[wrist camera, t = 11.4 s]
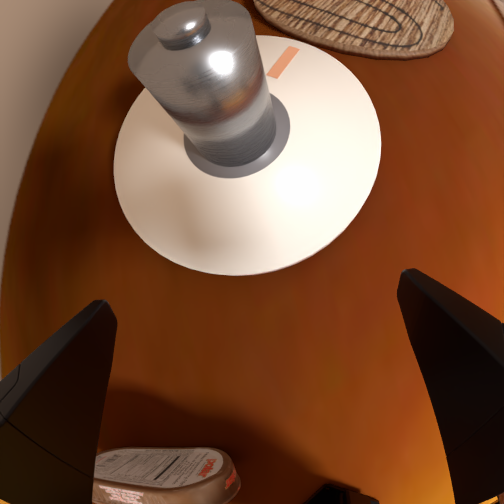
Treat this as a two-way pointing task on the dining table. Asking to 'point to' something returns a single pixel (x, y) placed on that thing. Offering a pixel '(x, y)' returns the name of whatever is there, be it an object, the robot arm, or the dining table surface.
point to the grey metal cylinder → (208, 78)
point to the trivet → (364, 25)
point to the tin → (164, 476)
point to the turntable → (255, 172)
